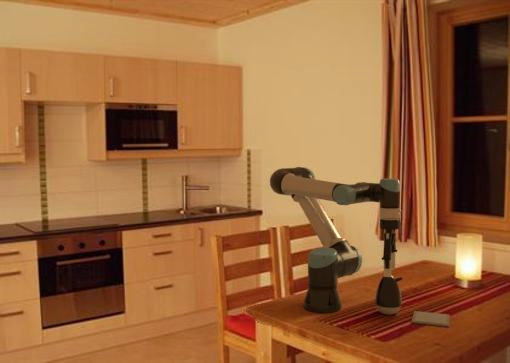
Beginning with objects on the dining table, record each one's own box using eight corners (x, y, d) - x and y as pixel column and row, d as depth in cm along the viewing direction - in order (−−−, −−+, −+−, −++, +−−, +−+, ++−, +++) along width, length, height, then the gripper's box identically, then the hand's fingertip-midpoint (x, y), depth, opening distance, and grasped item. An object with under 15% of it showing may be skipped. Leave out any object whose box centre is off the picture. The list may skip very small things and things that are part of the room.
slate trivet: (411, 323, 201) (411, 321, 201) (414, 312, 213) (414, 310, 213) (448, 327, 197) (448, 325, 197) (449, 316, 209) (449, 314, 209)
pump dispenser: (403, 317, 208) (403, 278, 206) (375, 316, 210) (375, 277, 208) (401, 309, 217) (401, 272, 216) (374, 307, 220) (375, 270, 218)
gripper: (396, 223, 197) (395, 281, 199) (403, 214, 221) (402, 266, 222) (375, 222, 200) (375, 279, 202) (384, 214, 223) (384, 264, 225)
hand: (389, 272), depth 212 cm, fingers open, 13 cm apart
